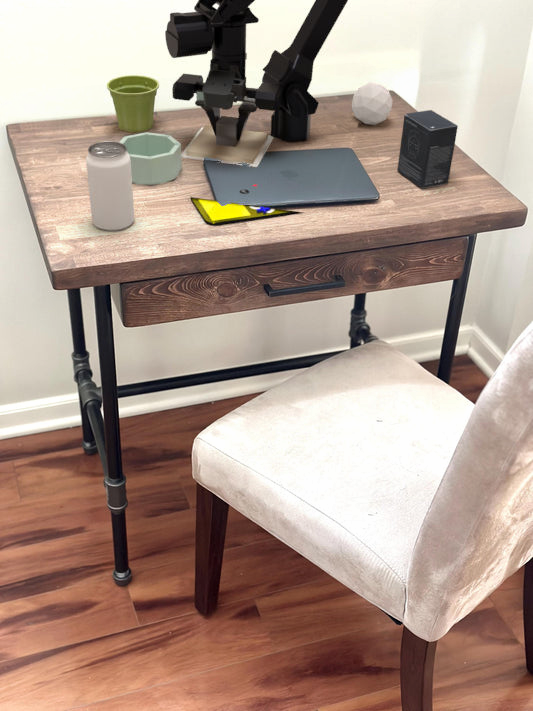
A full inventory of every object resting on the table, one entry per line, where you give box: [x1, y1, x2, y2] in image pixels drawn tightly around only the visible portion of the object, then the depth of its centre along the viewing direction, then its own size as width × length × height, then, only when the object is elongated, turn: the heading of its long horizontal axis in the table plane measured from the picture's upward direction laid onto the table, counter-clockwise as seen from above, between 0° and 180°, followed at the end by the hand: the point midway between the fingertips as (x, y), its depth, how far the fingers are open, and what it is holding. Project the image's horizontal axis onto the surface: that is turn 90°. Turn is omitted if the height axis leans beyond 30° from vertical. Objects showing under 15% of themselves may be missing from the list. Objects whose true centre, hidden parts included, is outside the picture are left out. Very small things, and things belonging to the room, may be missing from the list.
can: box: [85, 140, 135, 232], centre depth 130 cm, size 6×6×12 cm
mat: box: [181, 126, 275, 168], centre depth 156 cm, size 14×14×1 cm
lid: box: [186, 115, 269, 164], centre depth 155 cm, size 12×12×5 cm
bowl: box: [119, 131, 183, 186], centre depth 146 cm, size 10×10×6 cm
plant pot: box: [106, 74, 160, 133], centre depth 160 cm, size 9×9×9 cm
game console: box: [190, 184, 304, 227], centre depth 140 cm, size 18×11×2 cm, turn 112°
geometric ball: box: [350, 82, 394, 126], centre depth 167 cm, size 8×8×8 cm
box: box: [397, 109, 459, 189], centre depth 147 cm, size 8×6×11 cm
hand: (228, 138), depth 155 cm, fingers closed on lid, 3 cm apart
